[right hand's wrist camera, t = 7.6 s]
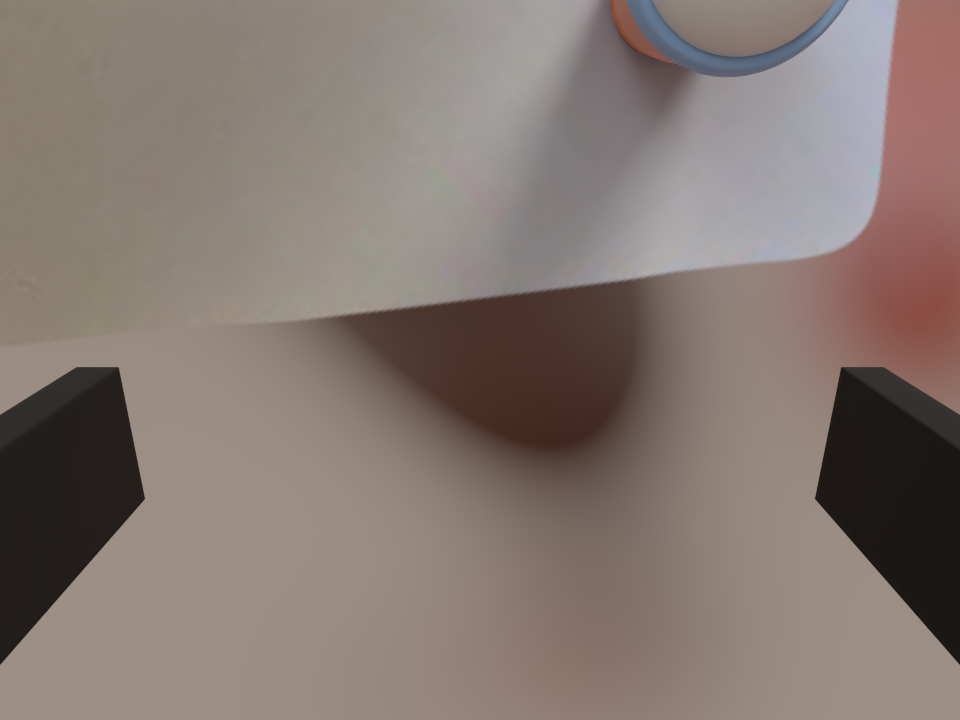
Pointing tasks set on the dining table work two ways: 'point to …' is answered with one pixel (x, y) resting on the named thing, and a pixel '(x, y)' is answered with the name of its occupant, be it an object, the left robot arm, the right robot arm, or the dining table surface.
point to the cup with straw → (724, 31)
